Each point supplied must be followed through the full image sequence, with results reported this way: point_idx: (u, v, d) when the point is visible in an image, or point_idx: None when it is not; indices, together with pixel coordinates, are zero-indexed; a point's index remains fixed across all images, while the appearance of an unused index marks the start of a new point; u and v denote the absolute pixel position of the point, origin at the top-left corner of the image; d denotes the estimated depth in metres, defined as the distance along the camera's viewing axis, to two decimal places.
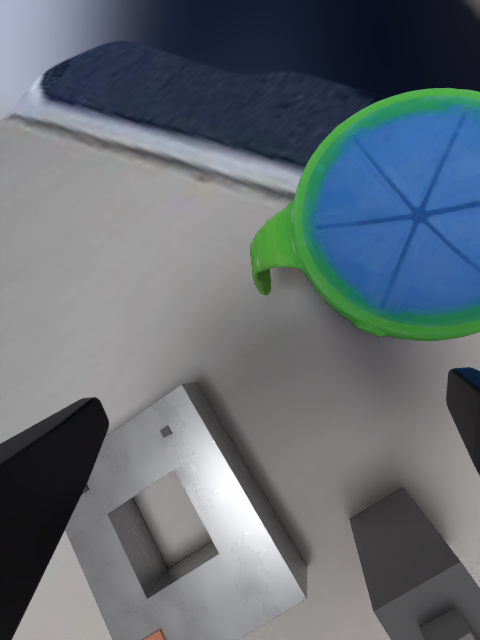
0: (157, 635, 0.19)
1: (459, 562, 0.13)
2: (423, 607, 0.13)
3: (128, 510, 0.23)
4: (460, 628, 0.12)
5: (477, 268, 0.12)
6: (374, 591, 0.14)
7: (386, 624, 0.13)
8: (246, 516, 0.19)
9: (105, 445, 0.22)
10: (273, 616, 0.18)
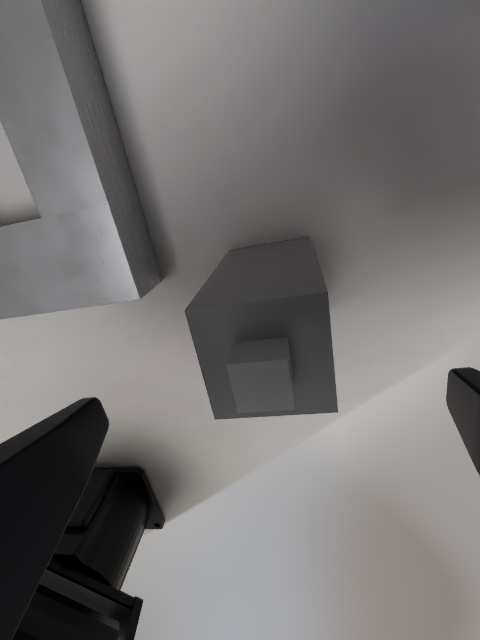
0: None
1: (325, 292, 0.08)
2: (249, 325, 0.09)
3: None
4: (278, 353, 0.08)
5: None
6: (201, 297, 0.10)
7: (195, 328, 0.09)
8: (86, 182, 0.13)
9: None
10: (97, 303, 0.15)
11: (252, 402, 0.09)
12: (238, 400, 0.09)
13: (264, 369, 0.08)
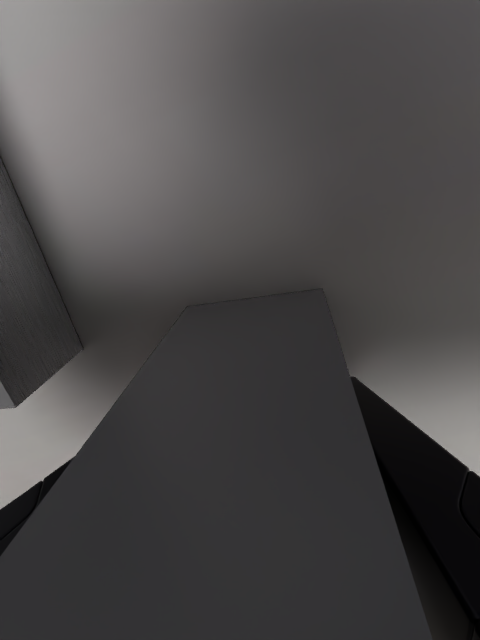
0: None
1: None
2: None
3: None
4: None
5: None
6: (20, 558, 0.03)
7: None
8: None
9: None
10: None
11: None
12: None
13: None
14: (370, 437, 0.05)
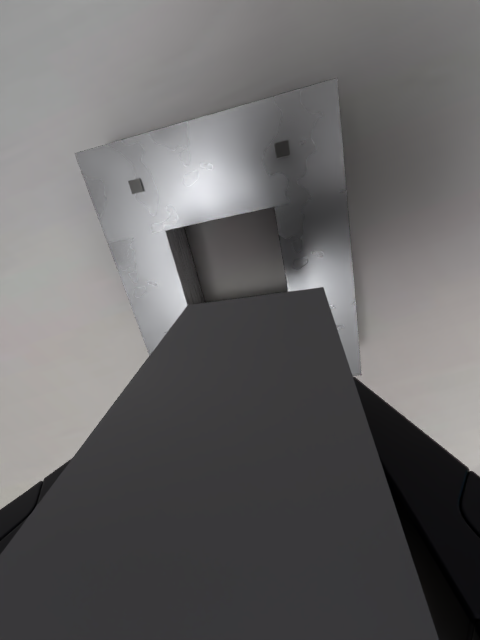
0: None
1: None
2: None
3: (180, 236, 0.18)
4: None
5: None
6: (21, 555, 0.03)
7: None
8: (341, 290, 0.16)
9: (181, 135, 0.14)
10: None
11: None
12: None
13: None
14: None
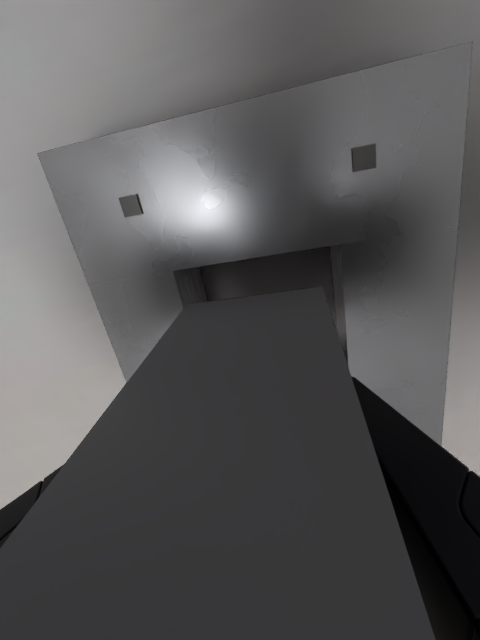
0: None
1: None
2: None
3: (192, 273, 0.13)
4: None
5: None
6: (17, 554, 0.03)
7: None
8: (427, 363, 0.11)
9: (202, 130, 0.09)
10: None
11: None
12: None
13: None
14: None
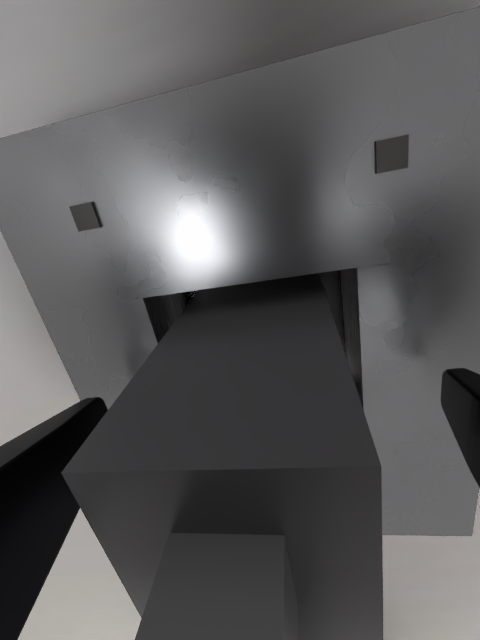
0: None
1: (375, 466, 0.03)
2: (200, 507, 0.04)
3: (172, 295, 0.11)
4: (262, 615, 0.03)
5: None
6: (115, 420, 0.05)
7: (88, 502, 0.04)
8: None
9: (175, 117, 0.07)
10: (400, 533, 0.11)
11: None
12: None
13: None
14: None
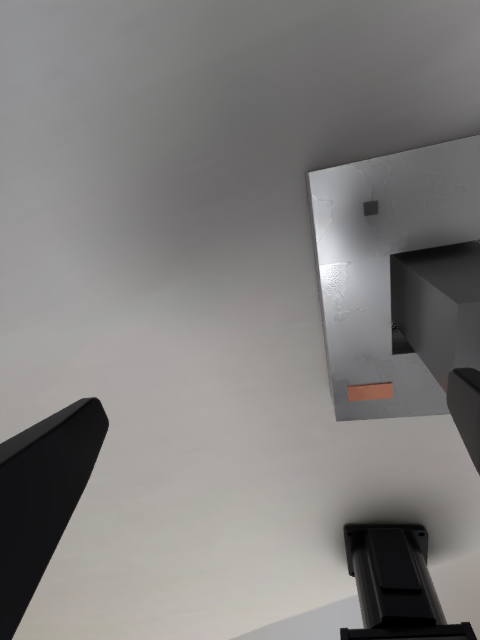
0: (385, 385, 0.18)
1: None
2: None
3: None
4: None
5: None
6: (453, 293, 0.12)
7: (462, 319, 0.11)
8: None
9: (438, 155, 0.13)
10: None
11: None
12: None
13: None
14: None
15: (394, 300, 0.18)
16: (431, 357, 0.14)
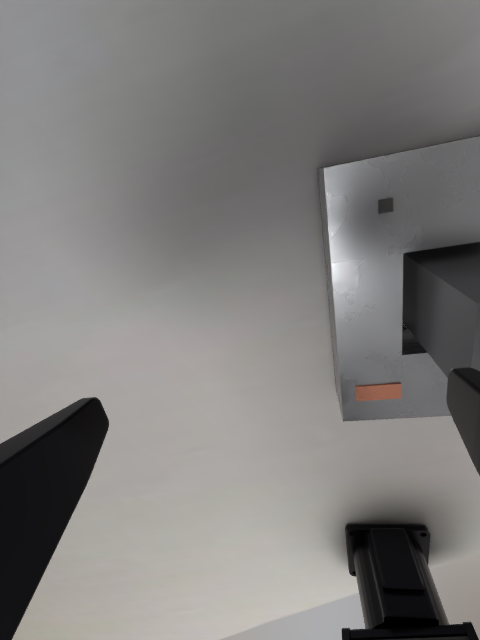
0: (394, 386, 0.18)
1: None
2: None
3: None
4: None
5: None
6: (472, 293, 0.11)
7: None
8: None
9: (457, 153, 0.13)
10: None
11: None
12: None
13: None
14: None
15: (404, 300, 0.18)
16: (445, 358, 0.13)
